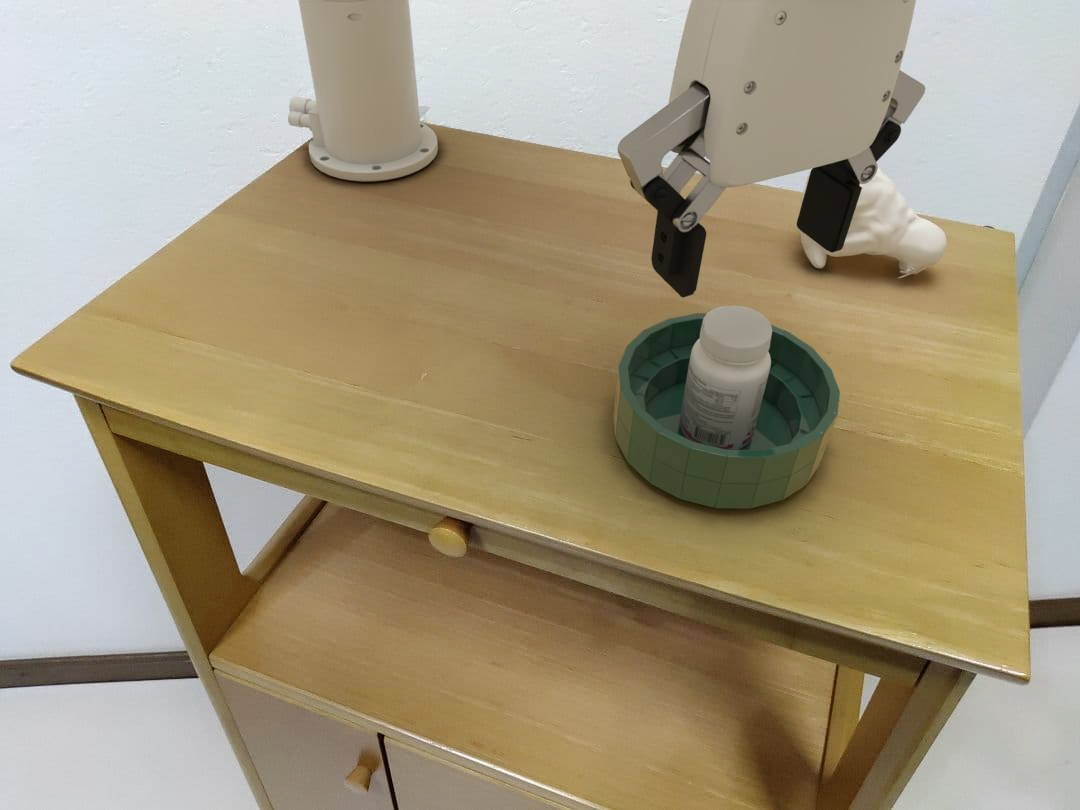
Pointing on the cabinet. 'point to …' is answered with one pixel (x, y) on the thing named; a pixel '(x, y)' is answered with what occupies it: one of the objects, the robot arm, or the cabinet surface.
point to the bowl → (710, 472)
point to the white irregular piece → (885, 230)
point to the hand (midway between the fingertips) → (747, 260)
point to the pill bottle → (727, 378)
